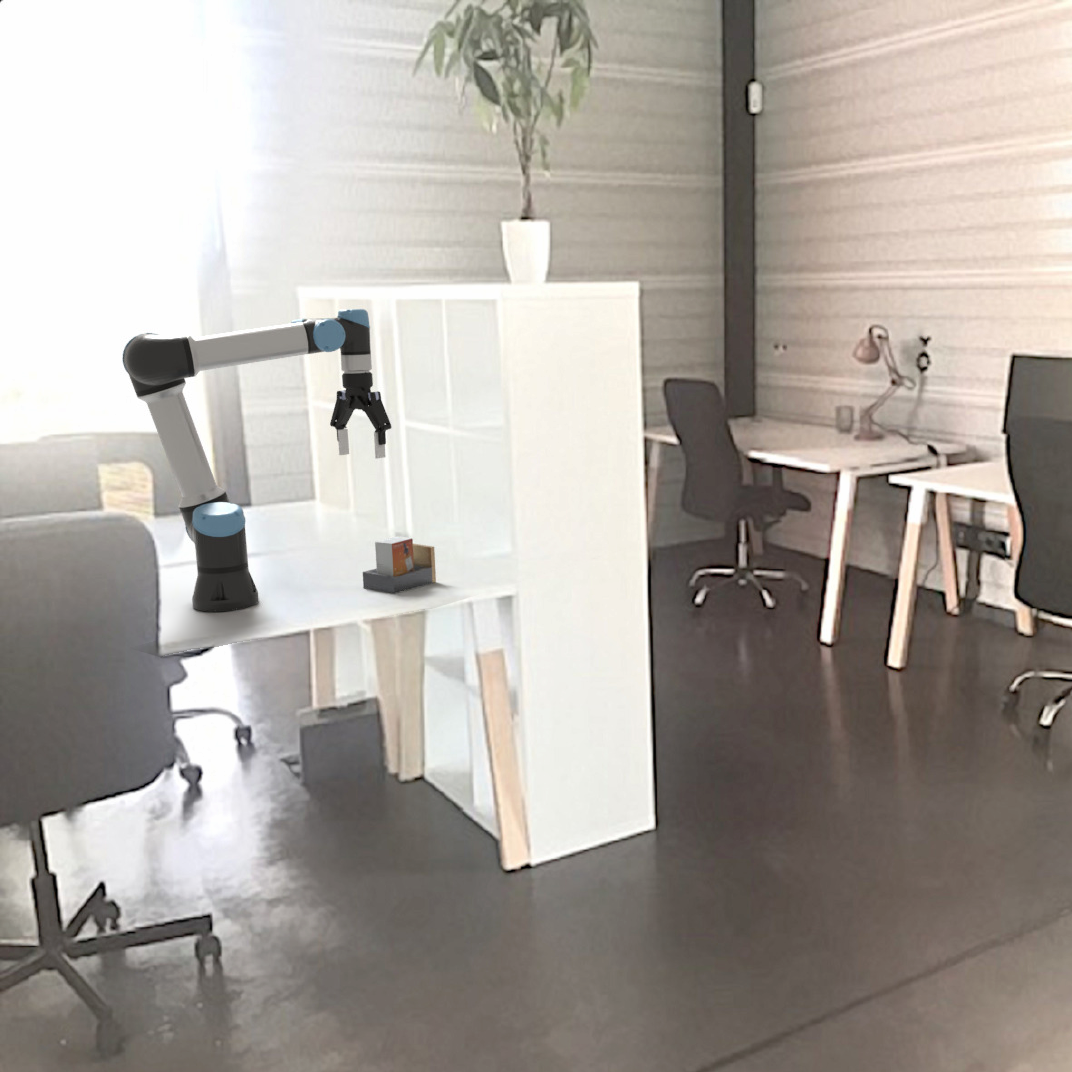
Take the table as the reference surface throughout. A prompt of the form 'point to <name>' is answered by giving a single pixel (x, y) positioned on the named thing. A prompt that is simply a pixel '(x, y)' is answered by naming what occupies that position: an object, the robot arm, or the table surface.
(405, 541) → the small box
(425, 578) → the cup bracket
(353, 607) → the table surface
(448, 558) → the table surface
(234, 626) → the table surface
